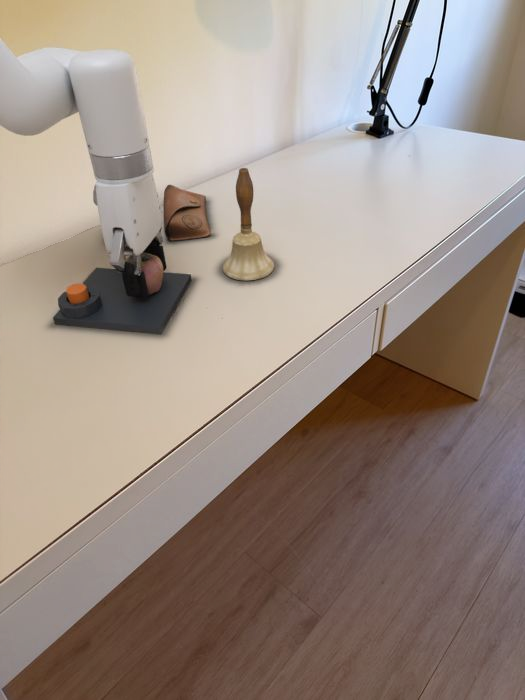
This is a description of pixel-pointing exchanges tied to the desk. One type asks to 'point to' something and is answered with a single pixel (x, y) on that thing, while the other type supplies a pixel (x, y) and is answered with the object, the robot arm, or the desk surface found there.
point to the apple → (150, 270)
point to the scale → (122, 304)
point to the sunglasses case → (184, 214)
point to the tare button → (77, 293)
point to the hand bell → (247, 239)
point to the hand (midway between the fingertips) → (147, 281)
